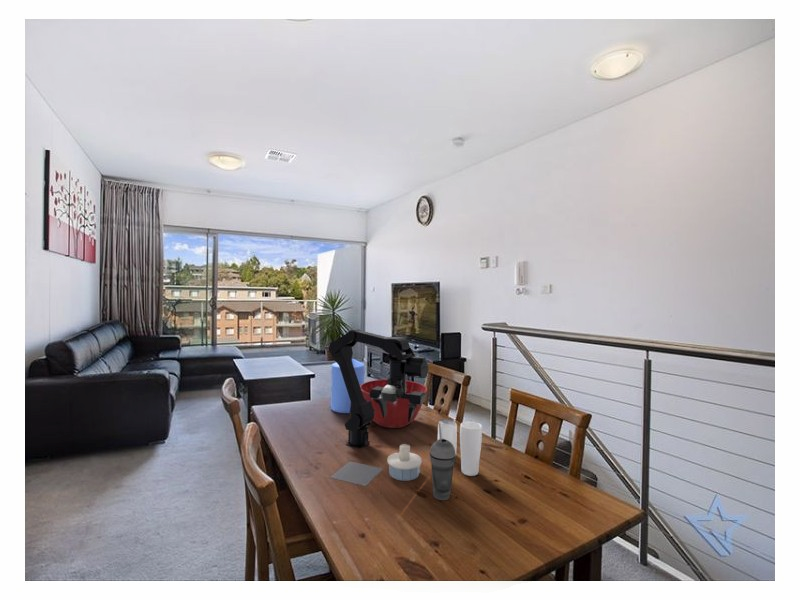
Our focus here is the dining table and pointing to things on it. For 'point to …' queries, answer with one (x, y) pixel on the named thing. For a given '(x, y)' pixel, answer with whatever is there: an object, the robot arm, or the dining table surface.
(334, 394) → the water jug
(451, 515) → the dining table surface
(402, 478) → the bowl
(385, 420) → the mixing bowl
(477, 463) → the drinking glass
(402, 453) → the lid
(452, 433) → the can
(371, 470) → the mat
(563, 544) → the dining table surface
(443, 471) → the beverage cup
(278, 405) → the dining table surface
